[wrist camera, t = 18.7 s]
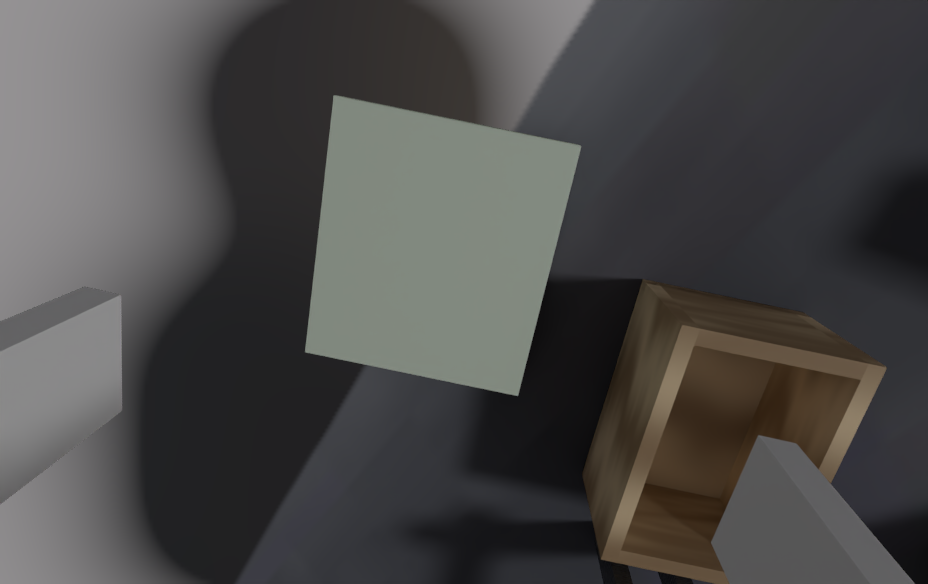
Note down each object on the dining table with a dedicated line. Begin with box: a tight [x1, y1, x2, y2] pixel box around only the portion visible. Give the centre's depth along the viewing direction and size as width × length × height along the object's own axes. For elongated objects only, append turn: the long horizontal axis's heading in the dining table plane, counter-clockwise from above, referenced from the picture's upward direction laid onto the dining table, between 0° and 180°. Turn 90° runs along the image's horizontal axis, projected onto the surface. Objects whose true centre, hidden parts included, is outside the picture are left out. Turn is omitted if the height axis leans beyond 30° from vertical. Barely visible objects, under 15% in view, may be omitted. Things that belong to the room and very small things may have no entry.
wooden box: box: [582, 279, 887, 584], centre depth 29 cm, size 13×9×7 cm
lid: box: [305, 95, 581, 396], centre depth 29 cm, size 14×12×3 cm
